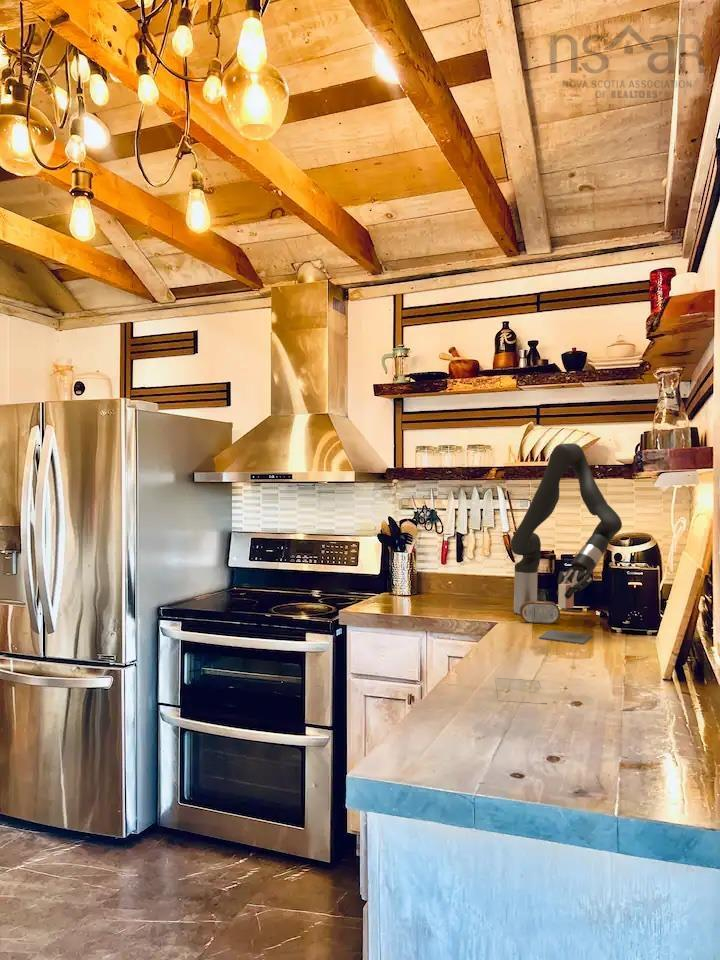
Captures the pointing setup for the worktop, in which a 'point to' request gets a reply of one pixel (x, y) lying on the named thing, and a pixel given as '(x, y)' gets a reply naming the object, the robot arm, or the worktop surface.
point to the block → (562, 600)
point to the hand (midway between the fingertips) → (562, 596)
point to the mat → (565, 637)
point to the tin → (540, 612)
